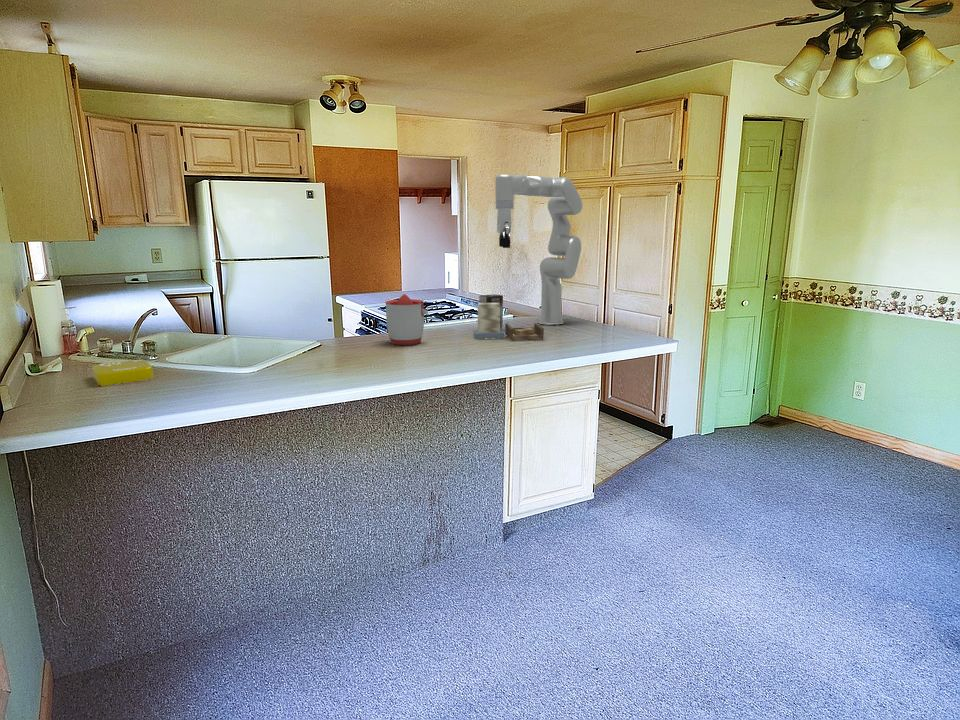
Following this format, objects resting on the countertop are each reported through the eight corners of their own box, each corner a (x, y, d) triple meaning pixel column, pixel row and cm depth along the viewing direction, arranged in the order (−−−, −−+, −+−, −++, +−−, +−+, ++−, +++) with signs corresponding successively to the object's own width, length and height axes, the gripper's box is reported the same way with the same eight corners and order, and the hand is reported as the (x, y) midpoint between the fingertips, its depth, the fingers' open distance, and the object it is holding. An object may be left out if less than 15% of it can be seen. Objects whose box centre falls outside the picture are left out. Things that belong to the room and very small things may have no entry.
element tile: (99, 388, 179) (97, 373, 178) (93, 378, 190) (91, 363, 189) (155, 380, 188) (153, 365, 187) (146, 371, 199) (144, 357, 198)
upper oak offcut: (528, 332, 255) (528, 327, 255) (535, 334, 252) (535, 329, 252) (514, 335, 251) (514, 329, 250) (520, 336, 248) (520, 331, 247)
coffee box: (487, 332, 265) (487, 296, 261) (478, 330, 270) (478, 295, 266) (503, 330, 270) (503, 295, 267) (493, 328, 275) (494, 293, 272)
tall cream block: (498, 330, 256) (498, 302, 254) (499, 332, 252) (500, 304, 249) (477, 330, 255) (477, 303, 253) (478, 332, 251) (478, 304, 248)
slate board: (501, 335, 259) (501, 329, 258) (503, 338, 251) (503, 333, 250) (473, 335, 257) (473, 330, 257) (475, 339, 250) (475, 333, 249)
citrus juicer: (427, 347, 235) (426, 296, 231) (383, 346, 236) (381, 296, 231) (431, 339, 250) (430, 291, 246) (390, 339, 251) (388, 291, 246)
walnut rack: (536, 334, 262) (536, 322, 260) (543, 340, 248) (543, 328, 247) (505, 334, 260) (505, 323, 259) (510, 341, 246) (510, 329, 245)
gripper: (493, 205, 257) (493, 246, 261) (498, 205, 240) (498, 248, 244) (510, 205, 258) (510, 245, 262) (516, 205, 241) (516, 248, 245)
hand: (504, 247), depth 253 cm, fingers open, 9 cm apart
